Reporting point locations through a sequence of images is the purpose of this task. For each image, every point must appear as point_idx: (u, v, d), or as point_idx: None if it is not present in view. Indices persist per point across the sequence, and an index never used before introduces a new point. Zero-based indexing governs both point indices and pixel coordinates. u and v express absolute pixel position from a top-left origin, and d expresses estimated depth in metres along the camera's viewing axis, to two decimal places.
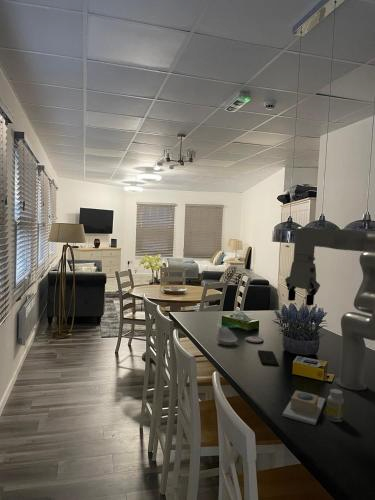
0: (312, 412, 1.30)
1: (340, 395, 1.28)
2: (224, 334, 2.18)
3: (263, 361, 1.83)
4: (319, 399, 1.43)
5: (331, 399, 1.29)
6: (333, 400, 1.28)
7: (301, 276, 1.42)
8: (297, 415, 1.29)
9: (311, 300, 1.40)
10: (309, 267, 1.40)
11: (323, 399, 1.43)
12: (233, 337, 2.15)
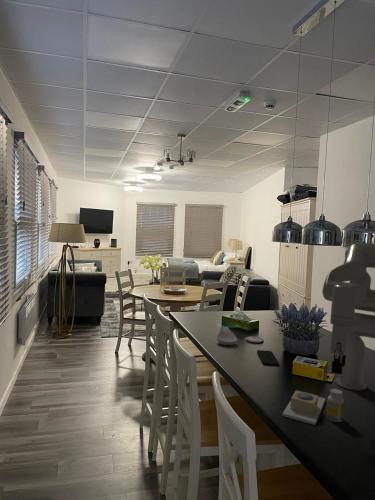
0: (312, 412, 1.30)
1: (340, 395, 1.28)
2: (224, 334, 2.18)
3: (264, 361, 1.83)
4: (319, 399, 1.43)
5: (331, 399, 1.29)
6: (333, 400, 1.28)
7: (348, 339, 1.29)
8: (297, 415, 1.29)
9: None
10: None
11: (323, 399, 1.43)
12: (233, 337, 2.15)
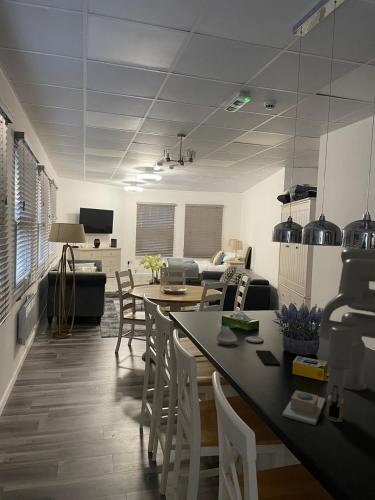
0: (312, 412, 1.30)
1: None
2: (225, 334, 2.19)
3: (265, 361, 1.82)
4: (319, 399, 1.43)
5: None
6: None
7: None
8: (297, 415, 1.29)
9: None
10: None
11: (323, 399, 1.43)
12: (233, 337, 2.15)
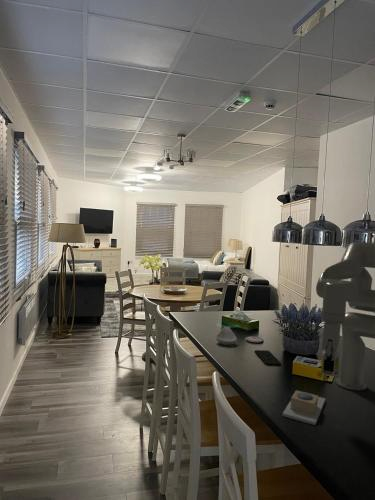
0: (312, 412, 1.30)
1: None
2: (225, 334, 2.19)
3: (266, 361, 1.82)
4: (319, 399, 1.43)
5: None
6: None
7: None
8: (297, 415, 1.29)
9: None
10: None
11: (323, 399, 1.43)
12: (233, 337, 2.15)
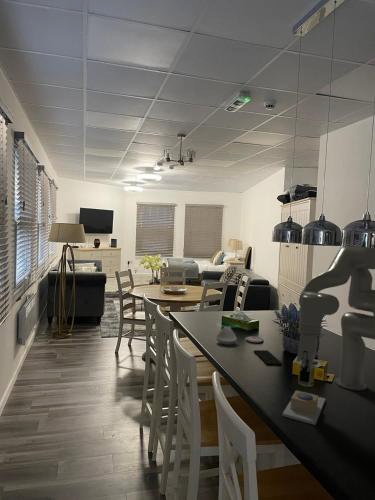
0: (312, 412, 1.30)
1: None
2: (226, 333, 2.19)
3: (267, 362, 1.82)
4: (319, 399, 1.43)
5: None
6: None
7: None
8: (297, 415, 1.29)
9: None
10: None
11: (323, 399, 1.43)
12: (233, 337, 2.15)
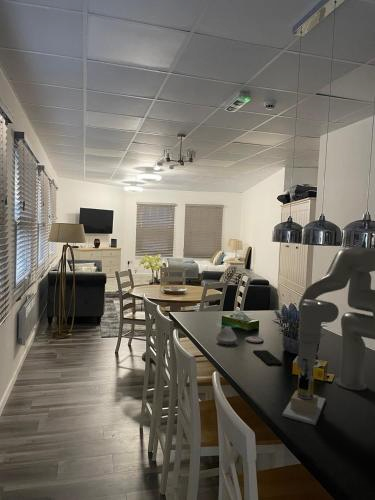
0: (312, 412, 1.30)
1: (310, 373, 1.33)
2: (226, 333, 2.19)
3: (267, 362, 1.82)
4: (319, 399, 1.43)
5: None
6: None
7: (315, 355, 1.35)
8: (297, 415, 1.29)
9: None
10: None
11: (323, 399, 1.43)
12: (234, 337, 2.15)
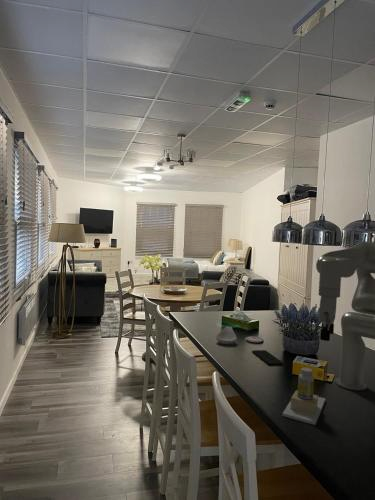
0: (312, 412, 1.30)
1: (310, 373, 1.33)
2: (226, 333, 2.20)
3: (268, 362, 1.82)
4: (319, 399, 1.43)
5: (301, 377, 1.34)
6: (303, 378, 1.33)
7: None
8: (297, 415, 1.29)
9: None
10: None
11: (323, 399, 1.43)
12: (234, 337, 2.15)
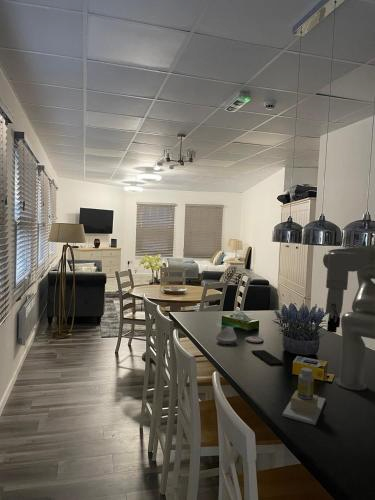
0: (312, 412, 1.30)
1: (310, 373, 1.33)
2: (227, 333, 2.20)
3: (269, 362, 1.82)
4: (319, 399, 1.43)
5: (301, 377, 1.34)
6: (303, 378, 1.33)
7: (342, 302, 1.42)
8: (297, 415, 1.29)
9: None
10: None
11: (323, 399, 1.43)
12: (234, 337, 2.15)
